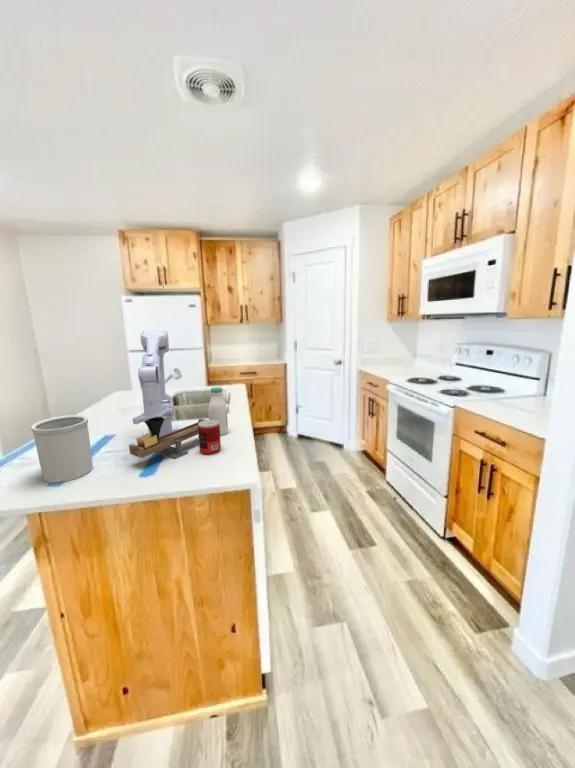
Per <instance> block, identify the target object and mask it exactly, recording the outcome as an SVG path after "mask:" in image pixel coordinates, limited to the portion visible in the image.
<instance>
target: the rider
mask: <svg viewBox="0 0 575 768" xmlns="http://www.w3.org/2000/svg"><path fill="white" fill-rule="evenodd" d="M135 439H136V444H137V445H136V446H139V447H142V448H144V450H146V449H149V448H151V447H154V446H156V445H158V442H157V435H154V434H150V433H149V432H148V433H146V434H144V435H141V436H139V437H136V438H135Z"/></svg>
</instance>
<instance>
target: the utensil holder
mask: <svg viewBox="0 0 575 768" xmlns="http://www.w3.org/2000/svg"><path fill="white" fill-rule="evenodd" d="M88 423H89V417H88V416H86V415H81V414H68V415H60V416H54V417H49V418H46V419H42V420H39V421H37V422H35V423H33V424H32V425H31V432H32V433H33V438H34V443H35V447H36V452H37V457H38V461H39V466H40V470H41V474H42V479H43V480H44V481H45V482H47V483H53V484H55V483H57V484H58V483H64V482H69V481H74V480H76V478H77V479H80V478H81V476H82V477H84V476H86V475H87V474H89V473H90V472H91V471H92V470H93V468H94V465H93V454H92V448H91V447H92V446H91V441H90V433H89V425H88ZM73 479H74V480H73Z"/></svg>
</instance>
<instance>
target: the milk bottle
mask: <svg viewBox="0 0 575 768" xmlns="http://www.w3.org/2000/svg"><path fill="white" fill-rule="evenodd" d="M222 393H223V388H222V387H221V386H214V387H211V388H210V394H211V397H210V400H209V404H208V407H207V408H208V411H207V413H208V420H217V421H219V425H220V436H224V435H227V434H228V432H229V429H228V428H229V427H228V411H227V409H228V408H227V404H226V402H225V399H224V397H223V394H222Z"/></svg>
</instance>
